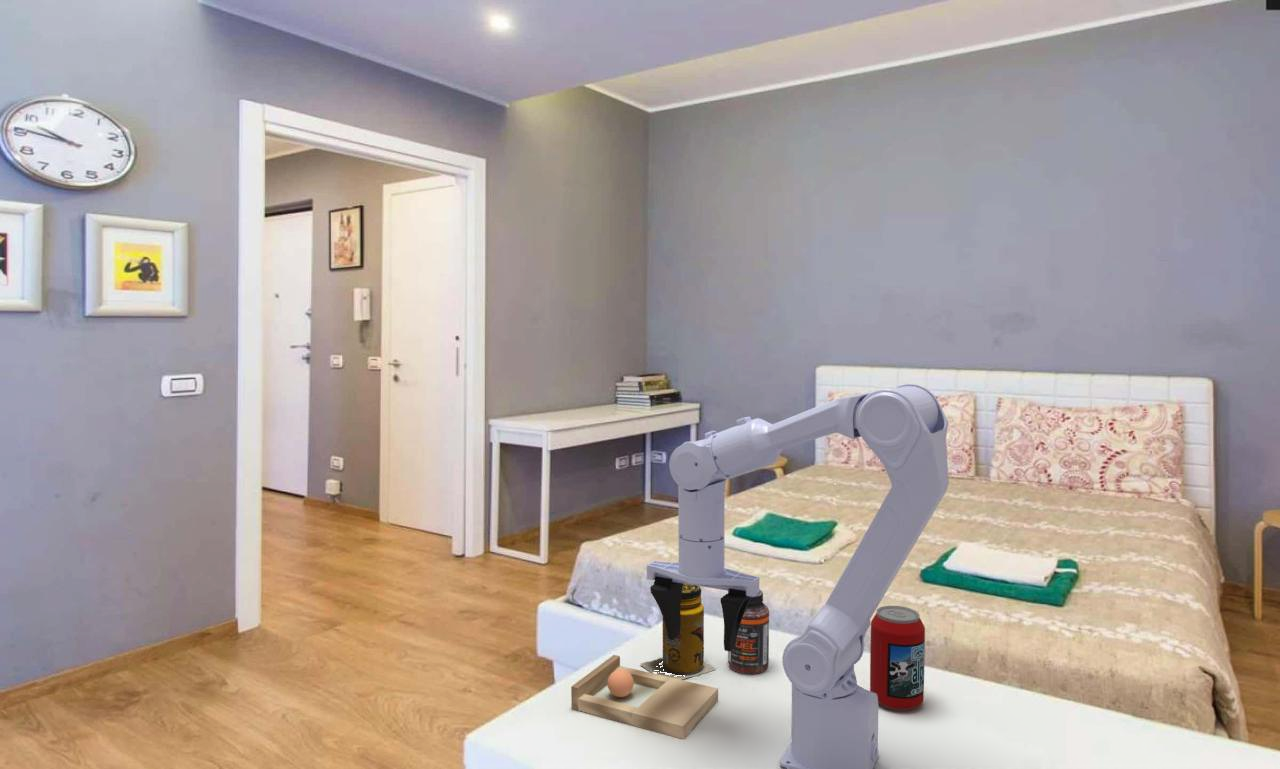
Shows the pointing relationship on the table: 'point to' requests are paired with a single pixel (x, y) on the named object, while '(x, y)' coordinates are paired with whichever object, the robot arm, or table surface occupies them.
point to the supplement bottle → (752, 639)
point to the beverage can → (897, 657)
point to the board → (645, 700)
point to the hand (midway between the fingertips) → (701, 642)
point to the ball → (620, 683)
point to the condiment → (684, 640)
